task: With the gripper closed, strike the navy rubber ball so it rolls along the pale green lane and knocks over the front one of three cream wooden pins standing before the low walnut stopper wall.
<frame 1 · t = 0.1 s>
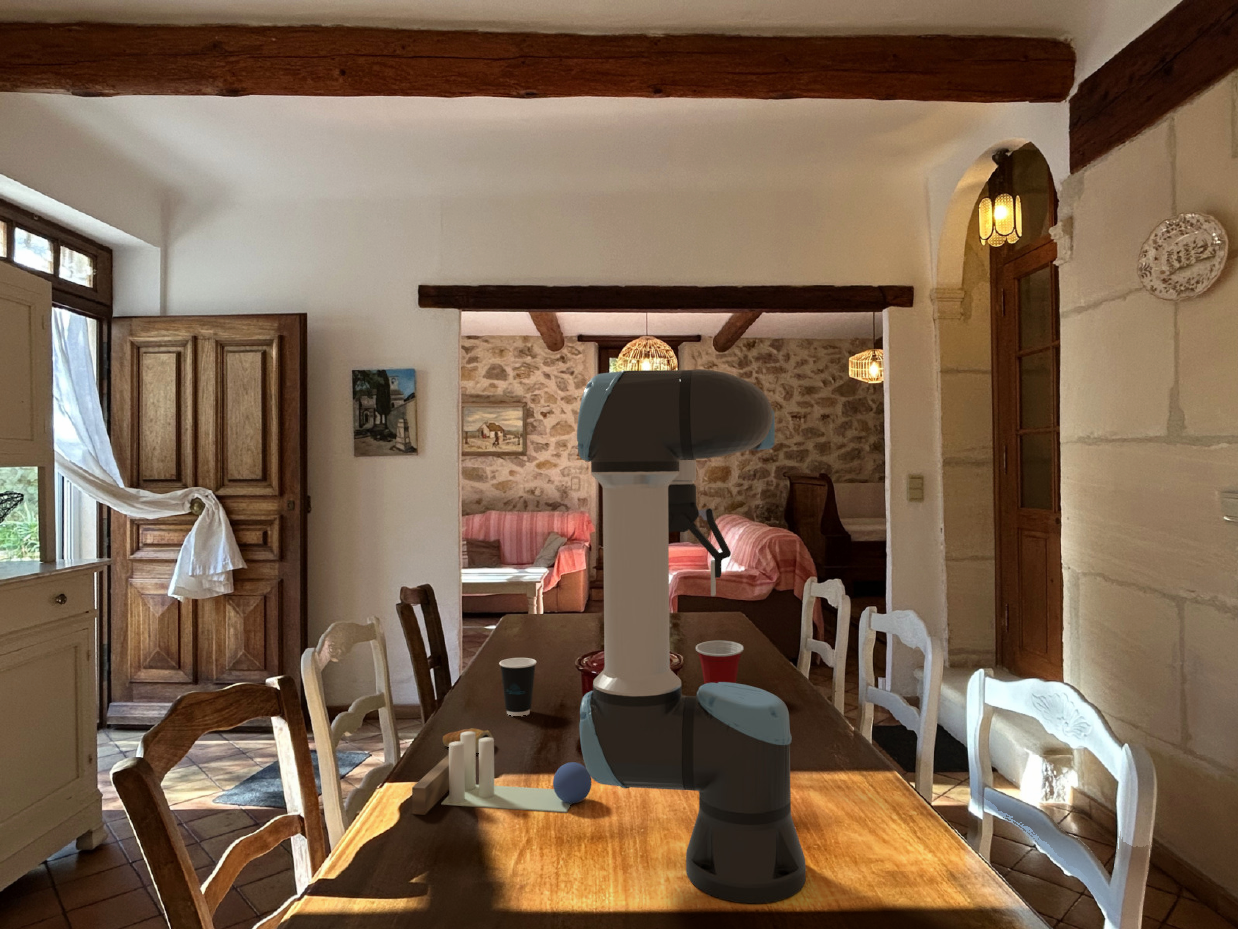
hand: (677, 594, 155), 28 cm above the table, tool pointing down, fingers open, 13 cm apart
stopper wall: (439, 793, 131), on the table
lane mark: (510, 798, 128), on the table
pin front: (486, 796, 129), on the table
dixie cup: (518, 714, 173), on the table
pin rear left: (468, 789, 132), on the table
ball: (572, 782, 127), on the table
pastry: (468, 750, 152), on the table
plastic cup: (719, 699, 183), on the table
pin rear right: (457, 801, 127), on the table
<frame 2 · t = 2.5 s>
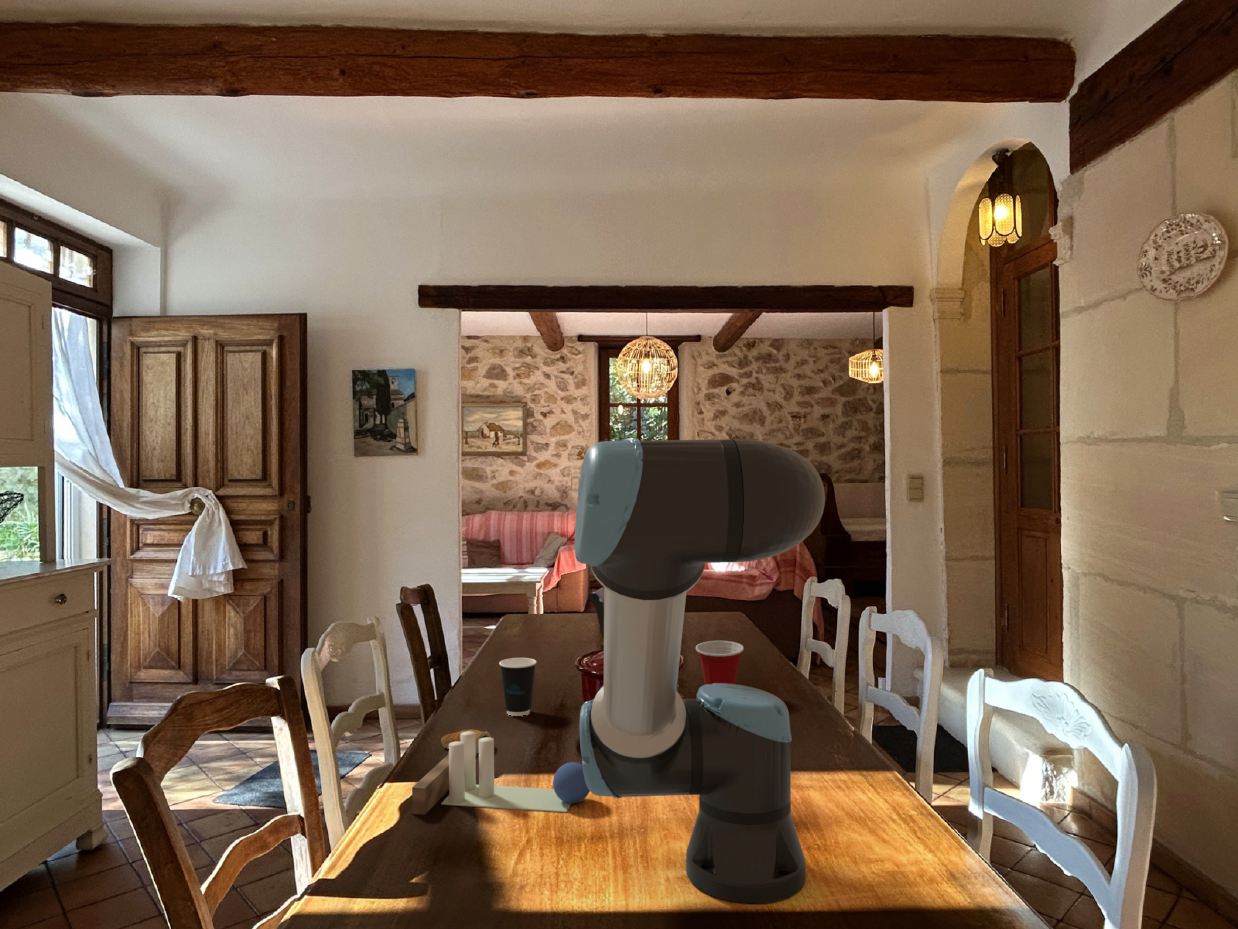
hand: (631, 700, 125), 16 cm above the table, tool pointing down, fingers closed
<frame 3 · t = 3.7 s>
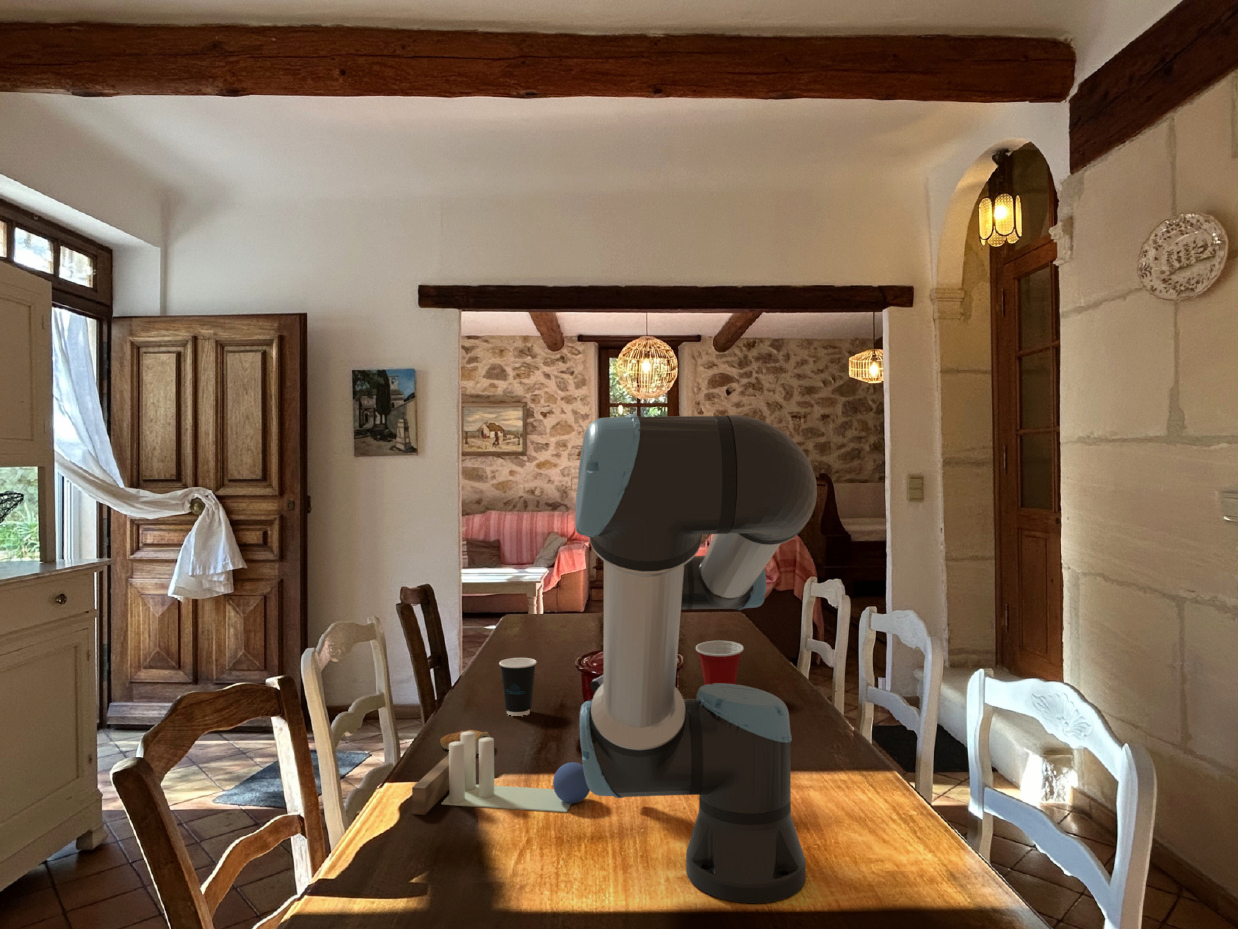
hand: (632, 788, 125), 3 cm above the table, tool pointing down, fingers closed
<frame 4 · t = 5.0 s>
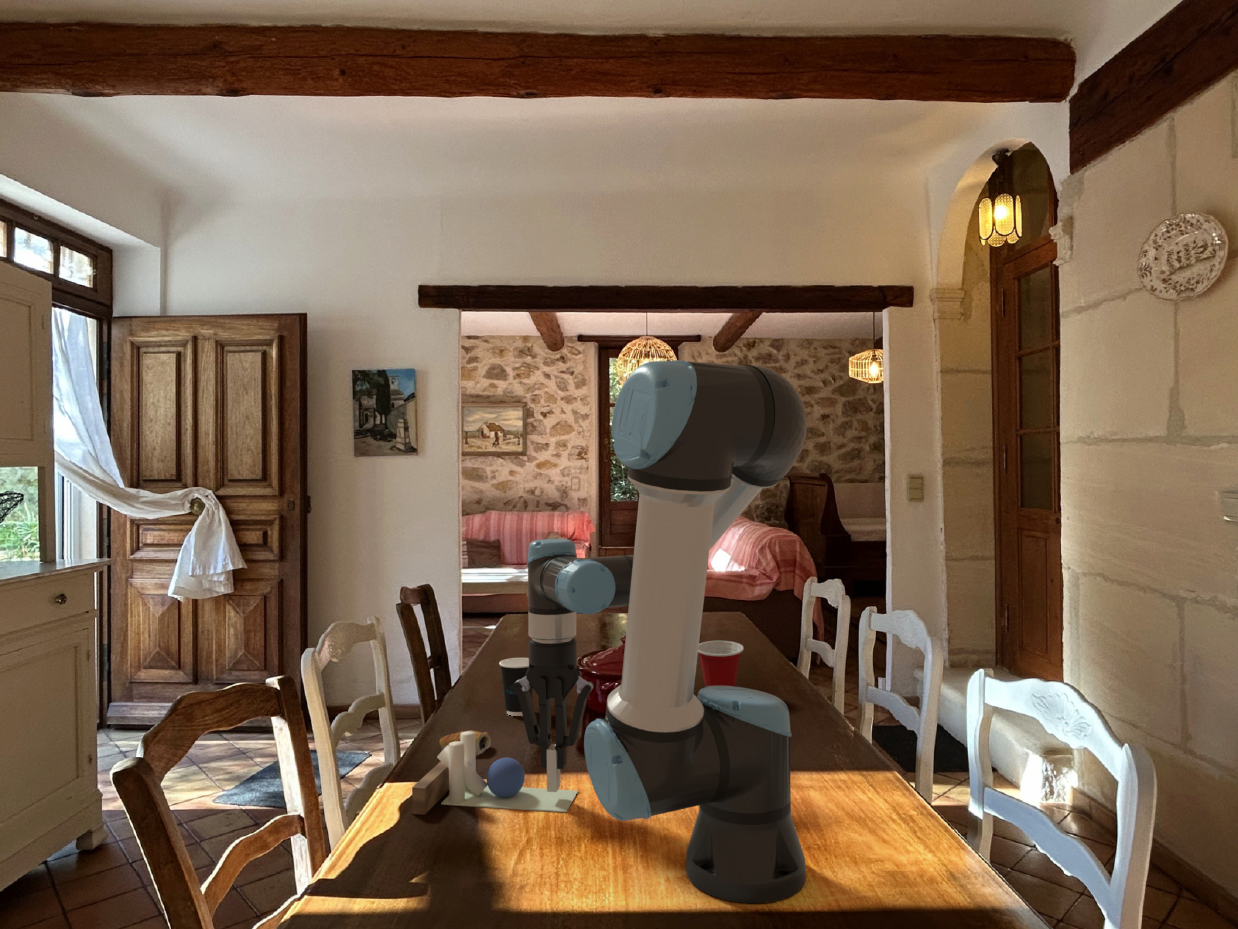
hand: (553, 788, 127), 2 cm above the table, tool pointing down, fingers closed
pin front: (482, 790, 129), point 1 cm above the table, tilted 49°
ball: (505, 777, 129), on the table
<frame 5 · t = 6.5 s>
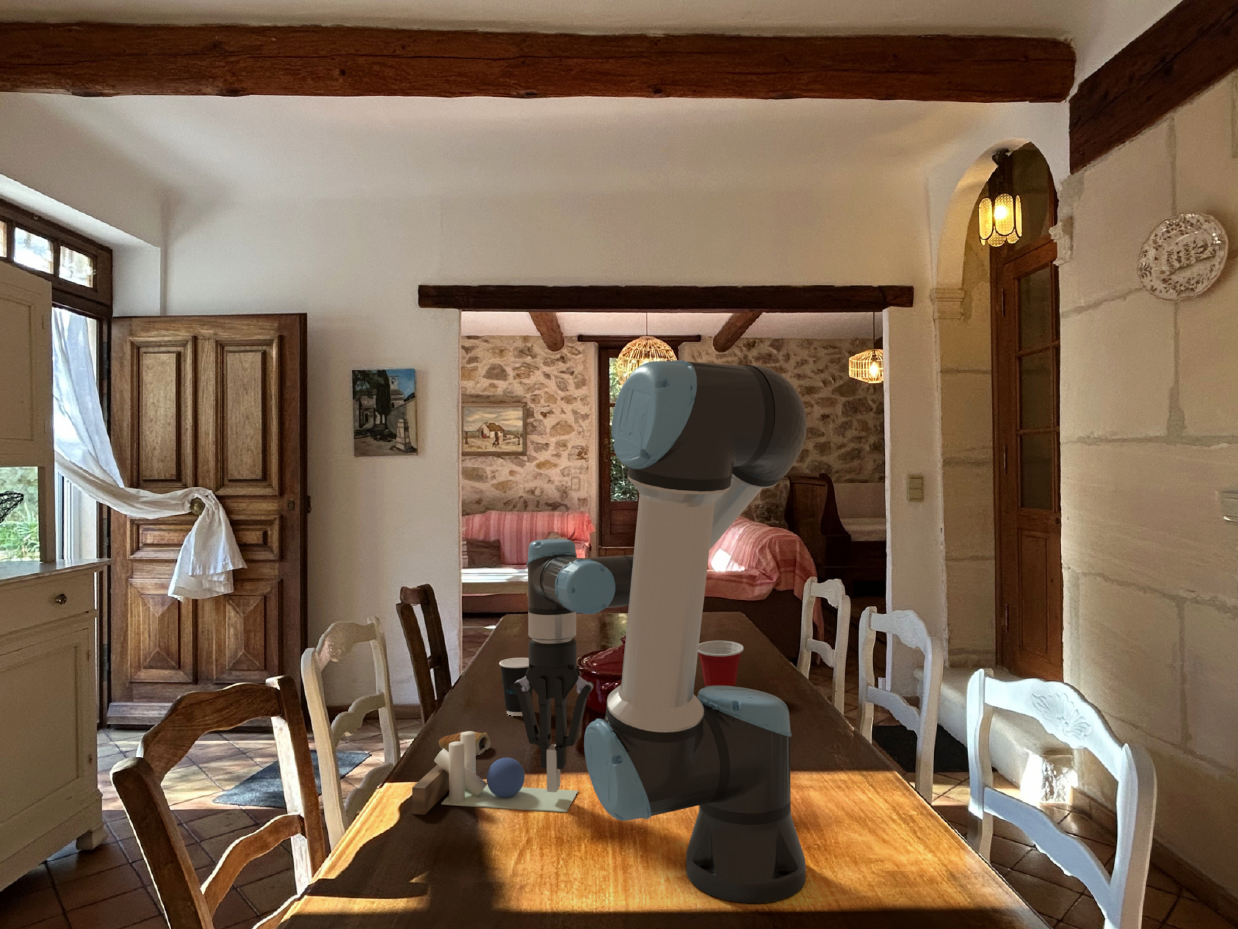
hand: (553, 788, 127), 2 cm above the table, tool pointing down, fingers closed
pin front: (482, 790, 129), point 1 cm above the table, tilted 54°
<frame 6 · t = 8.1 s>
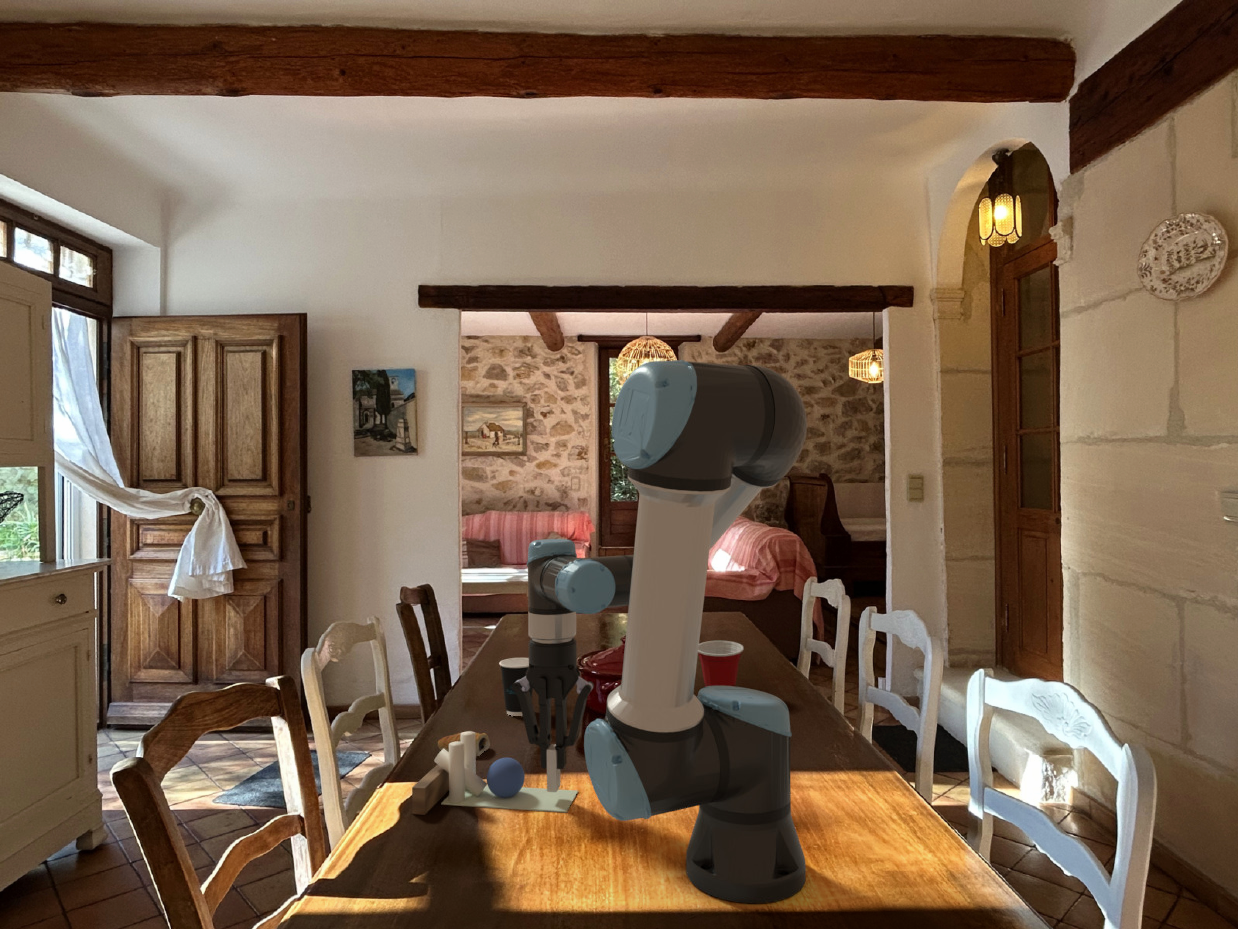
hand: (553, 788, 127), 2 cm above the table, tool pointing down, fingers closed
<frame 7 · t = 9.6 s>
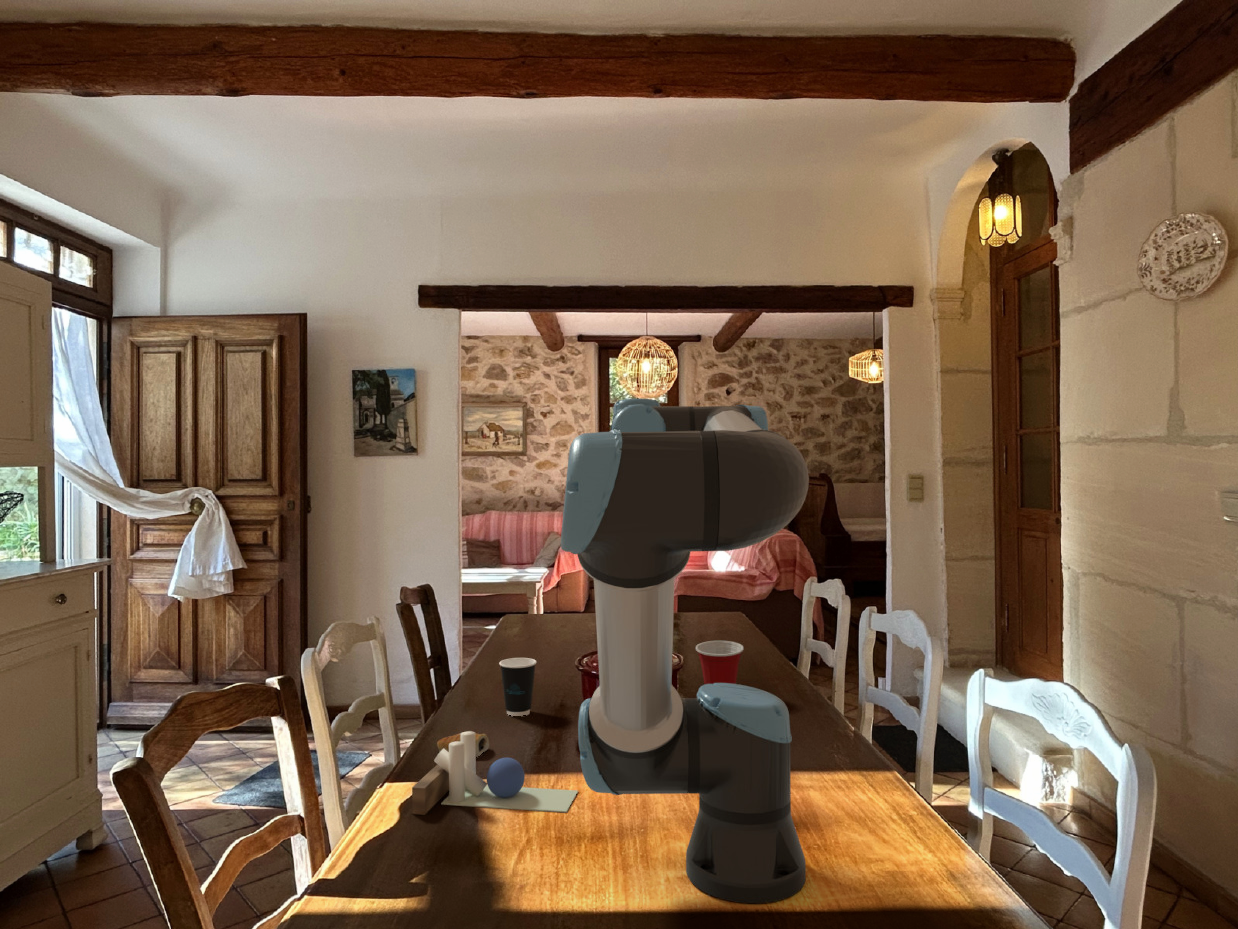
hand: (639, 650, 126), 24 cm above the table, tool pointing down, fingers closed
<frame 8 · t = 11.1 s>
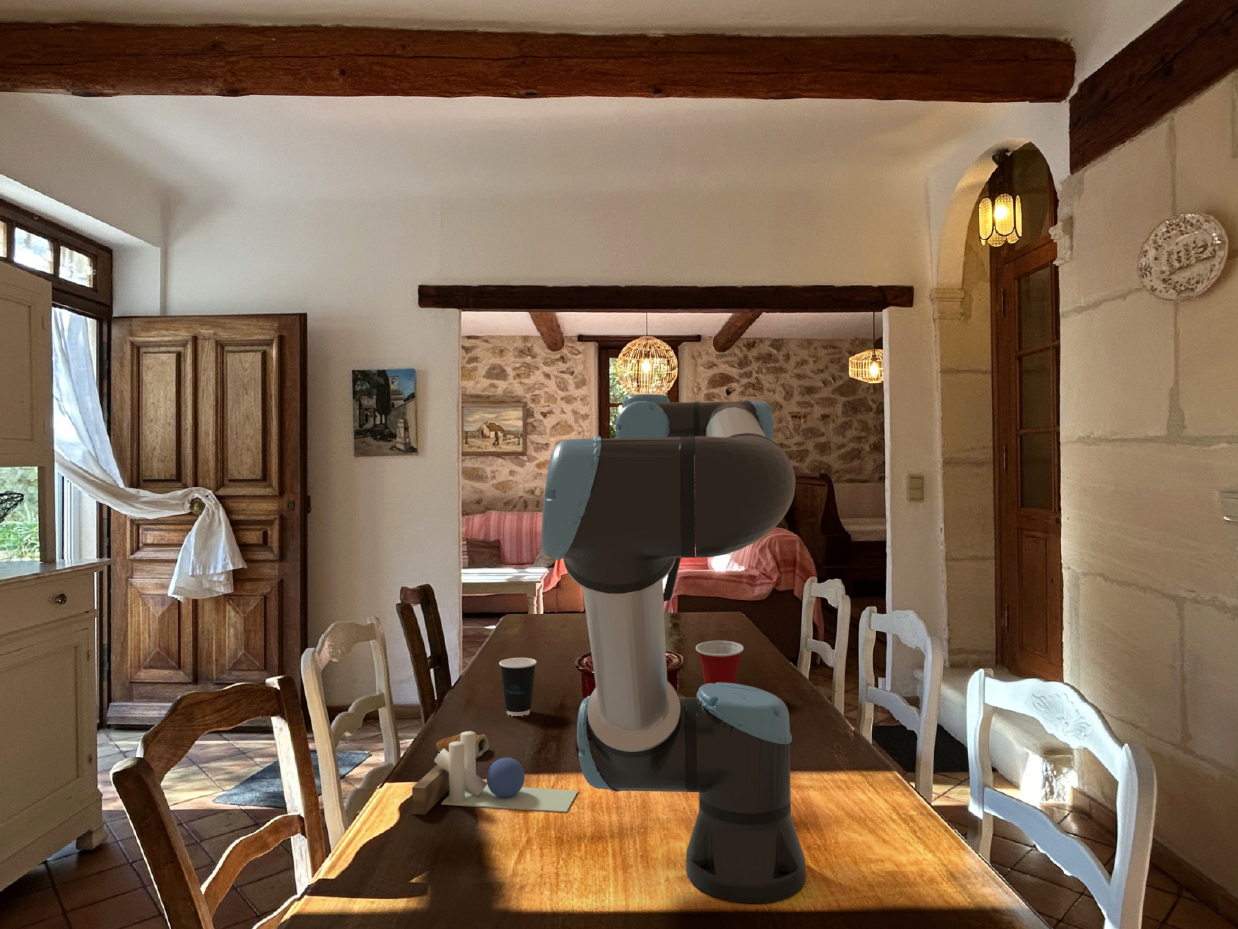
hand: (648, 645, 126), 24 cm above the table, tool pointing down, fingers closed
at the end: 1 of 3 knocked over (down: pin front; still standing: pin rear left, pin rear right); pin front never touched the robot; ball moved 11.0 cm from its start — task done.
